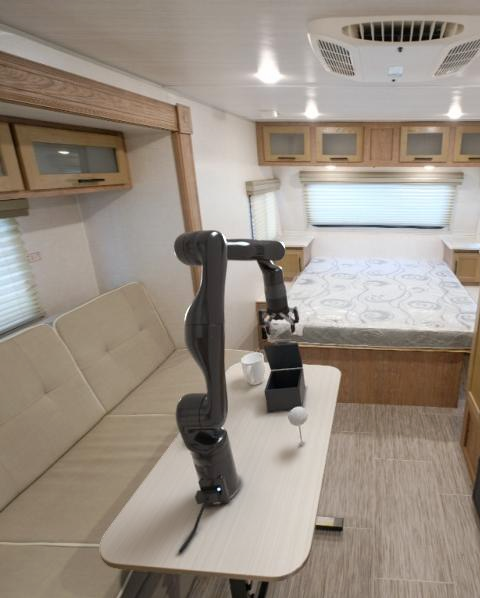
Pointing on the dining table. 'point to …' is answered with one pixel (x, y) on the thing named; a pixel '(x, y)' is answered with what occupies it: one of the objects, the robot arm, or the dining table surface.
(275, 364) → the bin lid
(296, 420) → the lollipop
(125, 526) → the dining table surface
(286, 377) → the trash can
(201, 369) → the robot arm
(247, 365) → the mug
